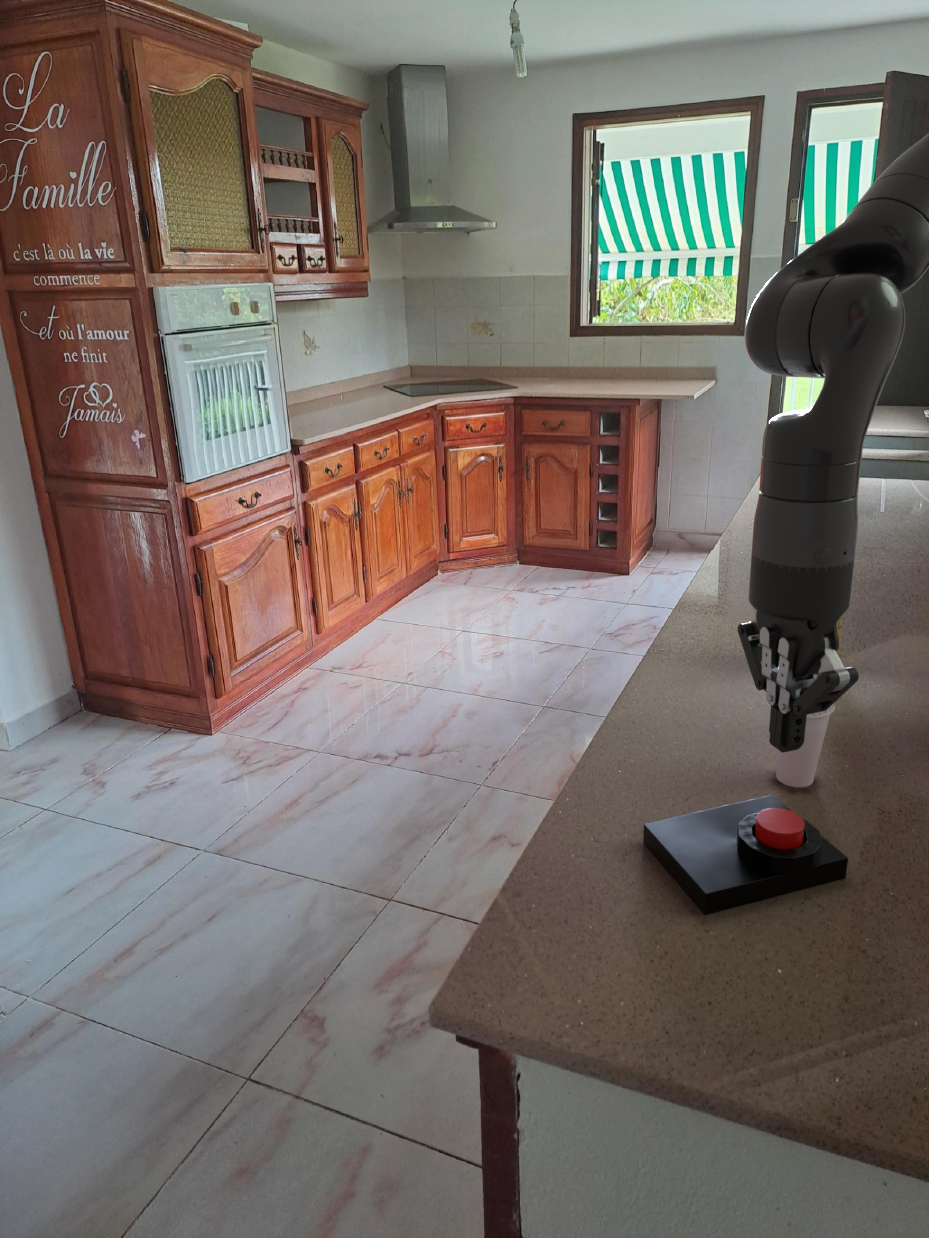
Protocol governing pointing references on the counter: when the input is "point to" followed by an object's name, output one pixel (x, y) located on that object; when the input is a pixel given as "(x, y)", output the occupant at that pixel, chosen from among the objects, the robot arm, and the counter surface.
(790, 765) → the smoothie
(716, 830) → the push button box
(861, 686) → the counter surface
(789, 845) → the timer button
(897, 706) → the counter surface
